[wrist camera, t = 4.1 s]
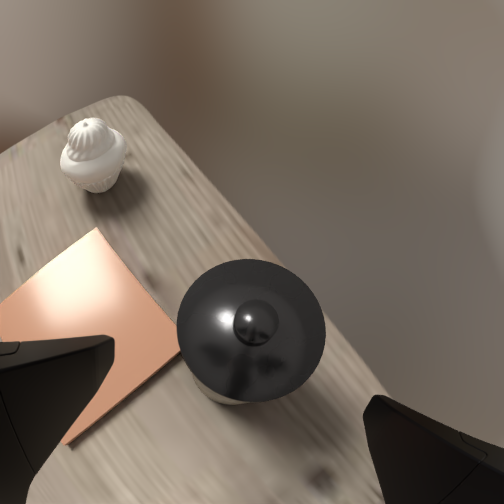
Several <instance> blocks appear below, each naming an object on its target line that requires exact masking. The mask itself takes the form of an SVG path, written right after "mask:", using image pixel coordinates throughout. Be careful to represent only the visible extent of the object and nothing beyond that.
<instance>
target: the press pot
mask: <svg viewBox="0 0 504 504" xmlns="http://www.w3.org/2000/svg"><path fill="white" fill-rule="evenodd" d="M325 338H326V330H325V321H324V316H323V313H322V310H321V307H320V305H319V303H318V301H317V299H316V297H315V296H314V294H313V293H312V291H311V290H310V289H309V287H308V286H307V285H306V284H305V283H304V282H303V281H302V280H301V279H300V278H299V277H297V276H296V275H295V274H293V273H292V272H290V271H289V270H287V269H285V268H283V267H281V266H279V265H276V264H274V263H271V262H267V261H262V260H255V259H241V260H234V261H229V262H225V263H223V264H220V265H217V266H215V267H214V268H212V269H210V270H208V271H207V272H205V273H204V274H202V275H201V276H200V277H199V278H198V279H197V280H196V281H195V282H194V283H193V284H192V285H191V287H190V288H189V289H188V291H187V292H186V294H185V296H184V298H183V300H182V302H181V305H180V308H179V311H178V317H177V339H178V344H179V347H180V351H181V354H182V356H183V358H184V361H185V363H186V365H187V366H188V368H189V369H190V371H191V372H192V375H193V378H194V381H195V383H196V385H197V386H198V388H199V389H200V390H201V391H202V392H203V393H204V394H205V395H206V396H207V397H209V398H210V399H212V400H214V401H216V402H218V403H221V404H226V405H240V404H245V403H248V402H250V403H254V402H264V401H269V400H273V399H277V398H279V397H282V396H285V395H287V394H289V393H290V392H292V391H294V390H295V389H297V388H298V387H300V386H301V385H302V384H303V383H304V382H305V381H306V380H307V379H308V378H309V377H310V376H311V374H312V373H313V372H314V371H315V369H316V367H317V365H318V364H319V361H320V359H321V356H322V354H323V350H324V346H325Z"/></svg>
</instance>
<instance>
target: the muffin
mask: <svg viewBox="0 0 504 504" xmlns="http://www.w3.org/2000/svg"><path fill="white" fill-rule="evenodd" d="M125 154H126V141H125V139H124V137H123V136H122V135H121V134H120V133H119V132H117V131H116V130H113V129H110V128H109V127H107V124H106V123H105V122H104V121H103V120H101V119H99V118H89V119H84V120H83V121H79V123H77V124H75V125H74V127H73V128H72V129H71V130H70V133H69V135H68V143H67V145H66V147H65V148H64V150H63V152H62V155H61V160H60V166H61V169H62V171H63V173H64V174H65V175H66V176H67V177H68V178H69V179H71V181H72V182H74V183H75V184H76V185H78V186H80V187H82V188H84V189H86V190H87V191H89V192H93V193H101V192H105V191H107V190H109V189H110V188H111V187H112V186H113V185H114V184H115V183H116V181H117V178H118V176H119V174H120V171H121V169H122V166H123V164H124V160H125Z"/></svg>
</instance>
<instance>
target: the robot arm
mask: <svg viewBox="0 0 504 504" xmlns="http://www.w3.org/2000/svg"><path fill="white" fill-rule="evenodd" d="M114 359H115V339H114V338H113V337H110V336H108V335H104V334H102V335H92V336H83V337H72V338H61V339H49V340H35V341H21V343H20V341H13V342H0V504H26V499H27V494H28V490H29V487H30V484H31V482H32V480H33V478H34V477H35V475H36V474H37V473H38V471H39V470H40V468H41V467H42V466H43V464H44V463H45V461H46V460H47V459H48V457H49V456H50V455H51V453H52V452H53V450H54V449H55V448H56V446H57V445H58V444H59V442H60V441H61V440H62V438H63V437H64V436H65V434H66V433H67V432H68V430H69V429H70V428H71V426H72V425H73V424H74V422H75V421H76V420H77V418H78V417H79V416H80V414H81V413H82V412H83V410H84V409H85V408H86V406H87V405H88V404H89V402H90V401H91V400H92V399H93V397H94V396H95V394H96V393H97V392H98V390H99V388H100V387H101V385H102V383H103V381H104V379H105V378H106V376H107V374H108V372H109V371H110V369H111V367H112V365H113V363H114ZM363 421H364V426H365V431H366V437H367V442H368V447H369V451H370V454H371V457H372V460H373V464H374V467H375V470H376V473H377V477H378V480H379V483H380V487H381V490H382V494H383V497H384V501H385V504H504V448H501V447H498V446H496V445H493V444H490V443H487V442H484V441H482V440H479V439H477V438H474V437H472V436H470V435H467V434H465V433H463V432H458V431H457V430H455V429H453V428H451V427H449V426H446V425H444V424H442V423H440V422H438V421H436V420H433V419H431V418H429V417H427V416H425V415H423V414H421V413H419V412H417V411H415V410H413V409H410V408H409V407H407V406H405V405H403V404H401V403H398V402H397V401H395V400H393V399H391V398H389V397H387V396H385V395H374V396H373V397H372V399H371V400H370V402H369V404H368V405H367V407H366V409H365V411H364V413H363Z"/></svg>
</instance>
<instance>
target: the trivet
mask: <svg viewBox="0 0 504 504" xmlns="http://www.w3.org/2000/svg"><path fill="white" fill-rule="evenodd" d="M102 334H104V335H108V336H110V337H113V338H114V339H115V359H114V363H113V365H112V367H111V369H110V371H109V372H108V374H107V376H106V378H105V379H104V381H103V383H102V385H101V387H100V388H99V390H98V392H97V393H96V394H95V396H94V397H93V399H92V400H91V401H90V402H89V404H88V405H87V406H86V408H85V409H84V410H83V412H82V413H81V414H80V416H79V417H78V418H77V420H76V421H75V422H74V424H73V425H72V426H71V428H70V429H69V430H68V432H67V433H66V434H65V436H64V437H63V438H62V440H61V442H62V443H63V445H68V444H69V443H71V442H72V441H73V440H75V439H76V438H77V437H78V436H80V435H81V434H82V433H83V432H85V431H86V430H87V429H88V428H90V427H91V426H92V425H93V424H95V423H96V422H97V421H98V420H100V419H101V418H102V417H103V416H105V415H106V414H107V413H108V412H109V411H111V410H112V409H113V408H114V407H116V406H117V405H118V404H119V403H120V402H122V401H123V400H124V399H125V398H127V397H128V396H129V395H130V394H131V393H133V392H134V391H135V390H136V389H137V388H139V387H140V386H141V385H142V384H143V383H145V382H146V381H147V380H148V379H149V378H151V377H152V376H153V375H154V374H155V373H157V372H158V371H159V370H160V369H161V368H163V367H164V366H165V365H166V364H167V363H168V362H170V361H171V360H172V359H173V358H174V357H176V356H177V355H178V354H179V353H180V352H181V351H180V347H179V344H178V339H177V326H176V325H175V324H174V323H173V322H172V321H171V319H170V318H169V317H168V316H167V315H166V314H165V313H164V311H163V310H162V309H161V308H160V307H159V306H158V304H157V303H156V302H155V301H154V300H153V299H152V297H151V296H150V295H149V294H148V293H147V291H146V290H145V289H144V288H143V287H142V285H141V284H140V283H139V282H138V281H137V279H136V278H135V277H134V276H133V274H132V273H131V272H130V271H129V269H128V268H127V267H126V266H125V264H124V263H123V262H122V260H121V259H120V258H119V257H118V255H117V254H116V253H115V251H114V250H113V249H112V247H111V246H110V245H109V243H108V242H107V241H106V239H105V238H104V237H103V235H102V234H101V233H100V231H99V230H98V229H97V227H96V228H95V229H94V230H92V231H91V232H89V233H88V234H87V235H85V236H84V237H82V238H81V239H80V240H78V241H77V242H76V243H74V244H73V245H72V246H70V247H69V248H68V249H66V250H65V251H64V252H62V253H61V254H60V255H58V256H57V257H56V258H55V259H53V260H52V261H51V262H49V263H48V264H47V265H46V266H44V267H43V268H42V269H41V270H39V271H38V272H37V273H36V274H34V275H33V276H32V277H31V278H30V279H28V280H27V281H26V282H25V283H24V284H22V285H21V286H20V287H19V288H18V289H17V290H15V291H14V292H13V293H12V294H11V295H10V296H9V297H7V298H6V299H5V300H4V301H3V302H2V303H1V304H0V336H1V339H2V341H3V342H13V341H20V343H21V341H35V340H49V339H61V338H72V337H83V336H92V335H102Z"/></svg>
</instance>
